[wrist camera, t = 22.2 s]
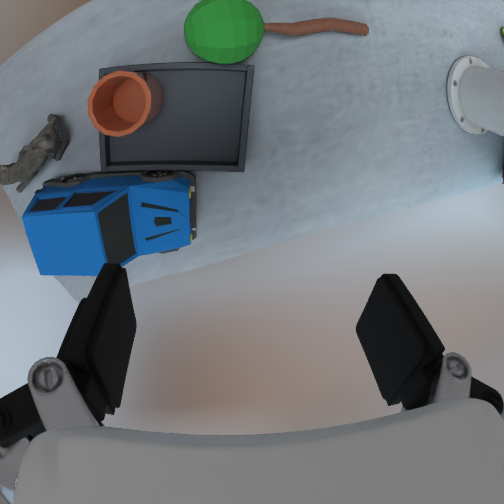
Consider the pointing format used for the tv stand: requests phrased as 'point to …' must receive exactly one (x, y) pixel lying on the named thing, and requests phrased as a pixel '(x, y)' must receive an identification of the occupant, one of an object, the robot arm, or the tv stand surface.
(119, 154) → the tray
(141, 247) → the toy car
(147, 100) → the terracotta pot
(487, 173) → the tv stand surface
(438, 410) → the robot arm
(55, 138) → the dog figurine
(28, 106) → the tv stand surface
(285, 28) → the tree
